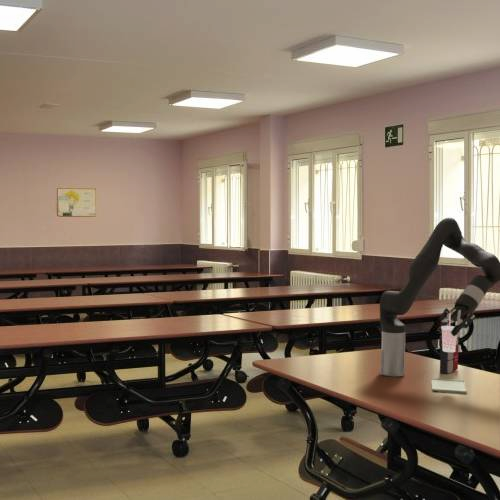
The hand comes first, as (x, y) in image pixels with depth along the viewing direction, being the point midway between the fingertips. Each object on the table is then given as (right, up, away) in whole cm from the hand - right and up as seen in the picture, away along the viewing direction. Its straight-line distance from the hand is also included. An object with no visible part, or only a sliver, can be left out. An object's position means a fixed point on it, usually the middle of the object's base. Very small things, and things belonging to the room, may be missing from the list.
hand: (445, 333), depth 269 cm
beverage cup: (+1, -7, +1) cm, 7 cm away
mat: (+1, -20, +1) cm, 20 cm away
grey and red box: (+9, -19, +28) cm, 35 cm away
